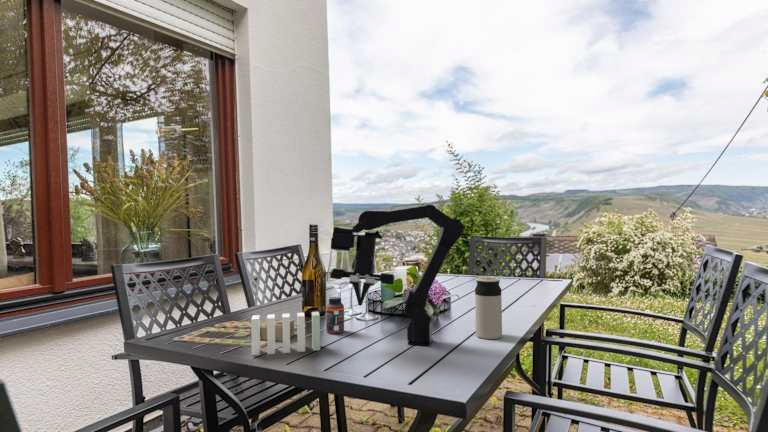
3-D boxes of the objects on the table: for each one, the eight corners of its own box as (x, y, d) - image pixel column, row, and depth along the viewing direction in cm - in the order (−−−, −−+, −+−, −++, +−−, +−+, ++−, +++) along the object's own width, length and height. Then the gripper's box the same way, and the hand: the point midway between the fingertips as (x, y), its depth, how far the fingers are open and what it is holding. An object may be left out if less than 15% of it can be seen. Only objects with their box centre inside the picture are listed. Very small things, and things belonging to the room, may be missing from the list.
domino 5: (319, 345, 132) (318, 311, 132) (320, 350, 127) (319, 315, 127) (312, 345, 132) (311, 312, 132) (313, 350, 127) (312, 315, 127)
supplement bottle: (341, 334, 144) (340, 299, 144) (323, 333, 145) (323, 299, 145) (346, 329, 150) (346, 296, 150) (329, 329, 151) (329, 295, 151)
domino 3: (290, 347, 130) (289, 313, 130) (290, 352, 126) (289, 317, 126) (283, 348, 130) (282, 313, 130) (282, 353, 125) (282, 317, 125)
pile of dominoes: (310, 327, 156) (309, 311, 156) (269, 350, 130) (269, 331, 130) (224, 322, 166) (224, 307, 166) (170, 343, 139) (170, 325, 139)
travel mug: (497, 341, 133) (496, 281, 133) (471, 337, 138) (471, 279, 138) (505, 335, 140) (504, 277, 140) (481, 331, 144) (480, 276, 144)
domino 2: (275, 348, 130) (274, 314, 130) (274, 353, 125) (274, 318, 125) (268, 349, 129) (267, 314, 129) (267, 354, 124) (266, 318, 124)
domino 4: (304, 346, 131) (304, 312, 131) (305, 351, 126) (304, 316, 126) (297, 346, 131) (297, 312, 131) (298, 351, 126) (297, 316, 126)
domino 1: (260, 349, 129) (259, 315, 129) (259, 355, 124) (258, 319, 124) (253, 350, 128) (252, 315, 128) (251, 355, 123) (251, 319, 123)
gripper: (397, 255, 140) (393, 304, 139) (339, 249, 142) (334, 298, 141) (395, 256, 129) (390, 310, 128) (332, 249, 131) (327, 303, 130)
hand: (360, 305), depth 132 cm, fingers closed
